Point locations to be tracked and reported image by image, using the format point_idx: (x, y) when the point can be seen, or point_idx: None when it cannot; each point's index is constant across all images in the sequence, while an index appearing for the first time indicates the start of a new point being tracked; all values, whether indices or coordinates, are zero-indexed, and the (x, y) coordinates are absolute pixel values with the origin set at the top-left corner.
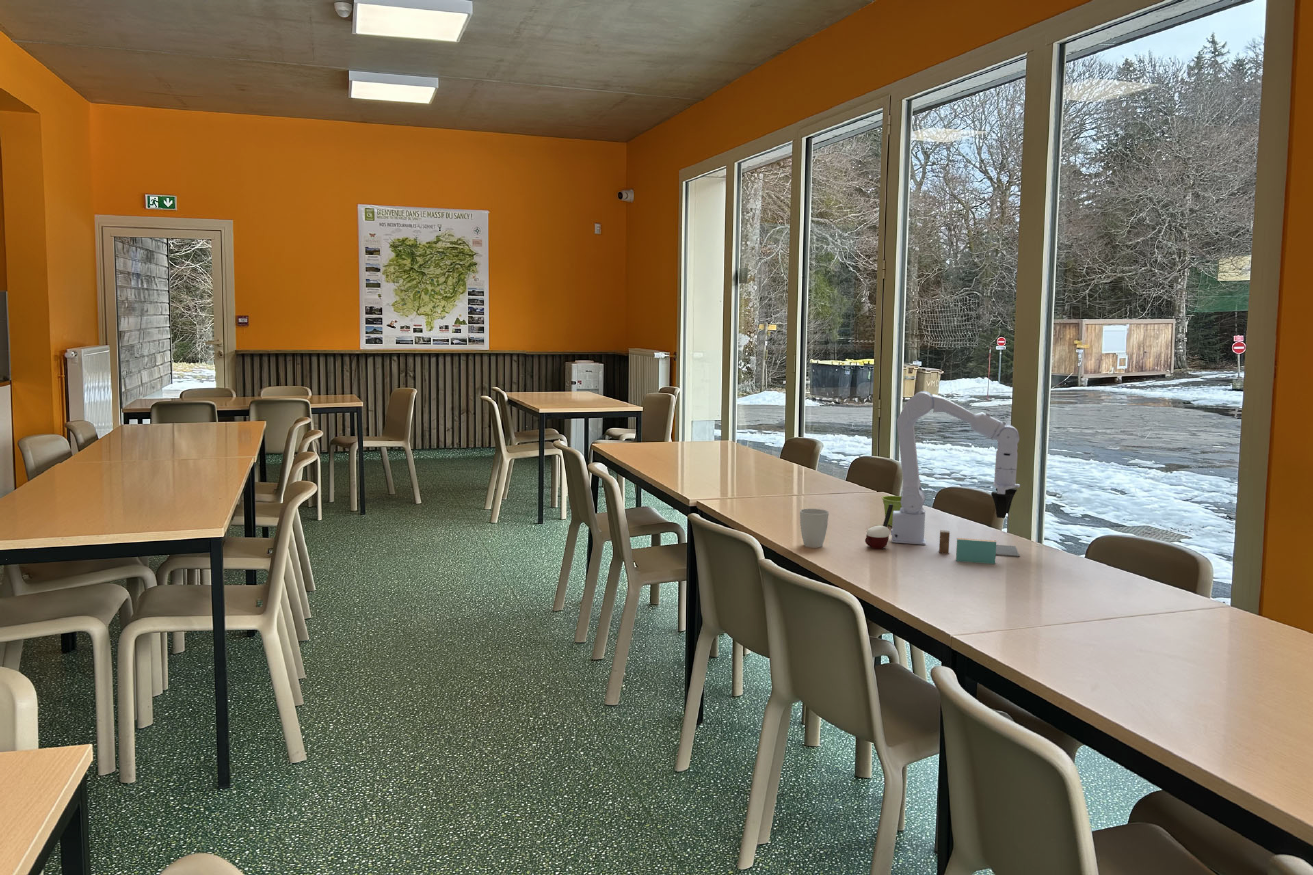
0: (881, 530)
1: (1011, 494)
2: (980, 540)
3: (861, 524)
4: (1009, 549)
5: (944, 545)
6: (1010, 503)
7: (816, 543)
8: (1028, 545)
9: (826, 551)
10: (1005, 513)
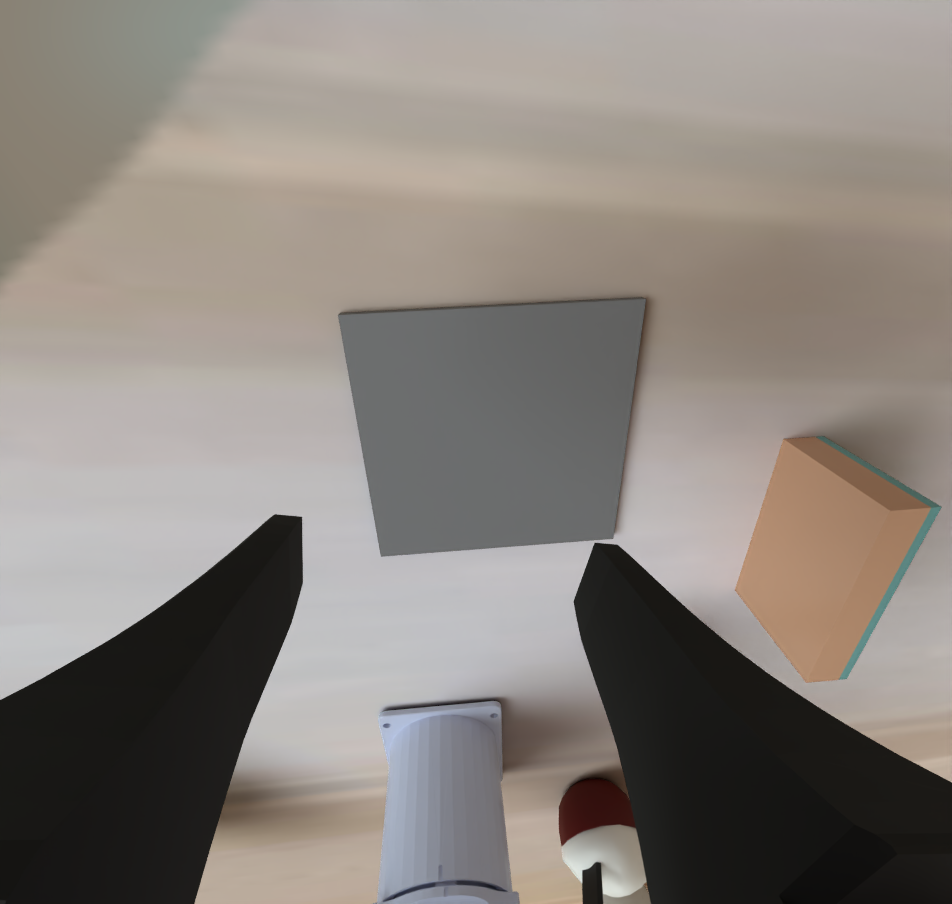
0: None
1: (149, 773)
2: (877, 587)
3: (224, 865)
4: (470, 358)
5: None
6: (245, 601)
7: (645, 888)
8: (199, 200)
9: None
10: (651, 579)
